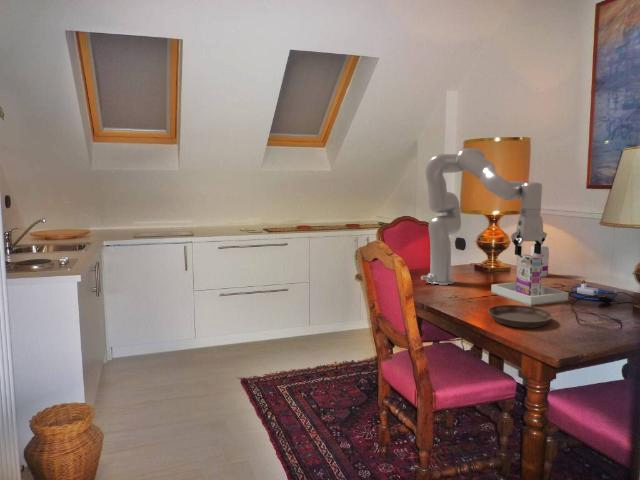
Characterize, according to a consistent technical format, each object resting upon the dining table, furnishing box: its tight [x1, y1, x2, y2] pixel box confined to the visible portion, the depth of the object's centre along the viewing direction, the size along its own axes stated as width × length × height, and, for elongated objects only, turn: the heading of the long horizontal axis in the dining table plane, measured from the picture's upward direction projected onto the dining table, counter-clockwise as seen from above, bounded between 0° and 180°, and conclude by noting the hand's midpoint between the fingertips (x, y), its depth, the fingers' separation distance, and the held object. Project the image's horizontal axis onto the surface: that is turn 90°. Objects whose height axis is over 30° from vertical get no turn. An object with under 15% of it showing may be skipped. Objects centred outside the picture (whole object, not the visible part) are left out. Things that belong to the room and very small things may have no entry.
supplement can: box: [530, 244, 550, 278], centre depth 251 cm, size 8×8×15 cm
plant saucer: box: [488, 304, 553, 329], centre depth 178 cm, size 21×21×3 cm
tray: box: [490, 281, 569, 307], centre depth 211 cm, size 18×24×4 cm
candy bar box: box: [515, 254, 542, 296], centre depth 210 cm, size 11×5×16 cm, turn 8°
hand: (527, 254), depth 209 cm, fingers open, 9 cm apart
